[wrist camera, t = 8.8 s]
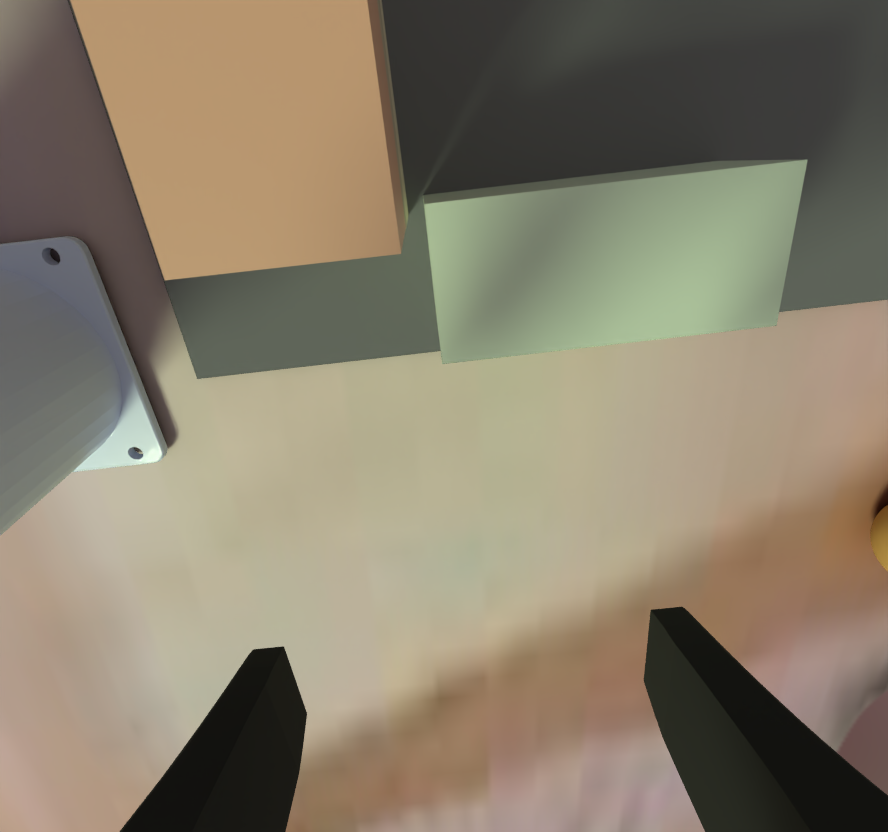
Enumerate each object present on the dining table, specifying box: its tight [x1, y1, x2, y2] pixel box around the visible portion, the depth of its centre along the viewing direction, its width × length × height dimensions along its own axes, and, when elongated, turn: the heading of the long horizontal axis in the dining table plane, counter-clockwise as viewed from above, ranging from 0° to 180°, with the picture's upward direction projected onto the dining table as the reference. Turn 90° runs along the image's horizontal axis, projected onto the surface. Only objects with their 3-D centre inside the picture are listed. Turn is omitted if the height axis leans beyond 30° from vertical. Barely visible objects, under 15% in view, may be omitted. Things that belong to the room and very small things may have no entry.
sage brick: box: [423, 160, 807, 364], centre depth 15 cm, size 9×4×4 cm, turn 96°
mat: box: [68, 0, 888, 379], centre depth 14 cm, size 26×18×1 cm
